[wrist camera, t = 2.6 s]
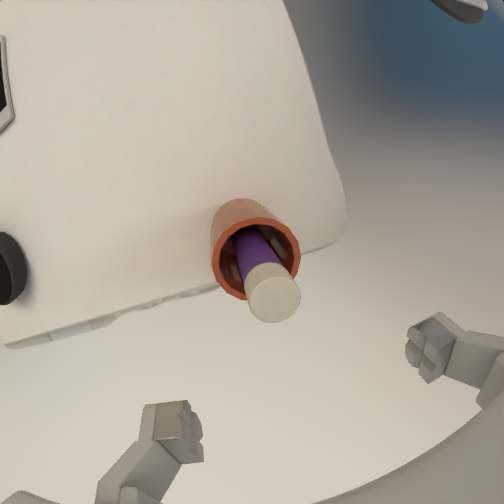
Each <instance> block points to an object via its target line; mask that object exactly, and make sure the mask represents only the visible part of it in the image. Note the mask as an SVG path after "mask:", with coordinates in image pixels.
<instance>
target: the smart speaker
mask: <svg viewBox="0 0 504 504" xmlns="http://www.w3.org/2000/svg"><path fill="white" fill-rule="evenodd" d="M26 278H27V273H26V265H25V261H24V258H23V255H22V253H21V250H20V248H19V247H18V245H17V244H16V242H15V241H14V240H13V239H12V238H11V237H10V236H9V235H7V234H6V233H4V232H0V305H7V304H10V303H11V302H12V301H13V300H14V299H16V298H17V297H18V296H19V295H20V294H21V293H22V291H23V290H24V287H25V284H26Z"/></svg>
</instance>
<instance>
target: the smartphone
mask: <svg viewBox="0 0 504 504" xmlns="http://www.w3.org/2000/svg"><path fill="white" fill-rule="evenodd" d="M13 118H14V112H13V107H12V101H11V96H10V90H9V83H8V75H7V66H6V53H5V37H4V36H3V35H0V132H1V131H2V130H3V129H4V128H5V127H6V126H7V125H8V124H9V123H10V122H11V121H12V120H13Z"/></svg>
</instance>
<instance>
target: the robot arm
mask: <svg viewBox="0 0 504 504" xmlns="http://www.w3.org/2000/svg"><path fill="white" fill-rule="evenodd" d="M456 1H458V2H462V3H465V4H468V5H471V6H474V7H477V8H480V9H483V10H487V9H488V6H487V3H486V0H456ZM503 1H504V0H503ZM407 337H408V338H409V341H408V342H407V344H406V347H405V353H406V357H407V360H408V361H409V363H410V364H411V365H412V366H413V367H416V368H419V375H420V376H421V377H422V378H423V379H424V380H425V381H426V382H427V384H429V383H430V382H432V381H434V380H435V379H437V378H438V377H440V376H442V375H443V374H444V375H445V376H447V377H450V378H452V379H455V380H457V381H460V382H463V383H465V384H468V385H470V386H473V387H476V388H479V389H481V390H480V392H479V394H478V396H477V398H476V402H477V403H478V404H479V406H480V407H481V408H482V410H481V411H480V412H479V413H478V414H477V415H475V416H474V417H473V418H472V419H471V420H469V421H468V422H467V423H466V424H465V425H463V426H462V427H461V428H460V429H458V430H457V431H456V432H454V433H453V434H452V435H450V436H449V437H447V438H446V439H445V440H443V441H442V442H440V443H439V444H437V445H436V446H435V447H433V448H431V449H430V450H428V451H427V452H425V453H423V454H422V455H420V456H419V457H417V458H415V459H414V460H412V461H410V462H408V463H407V464H405V465H403V466H401V467H400V468H398V469H396V470H394V471H392V472H390V473H388V474H386V475H384V476H382V477H380V478H378V479H376V480H374V481H372V482H369V483H367V484H365V485H363V486H360V487H358V488H355V489H353V490H350V491H348V492H345V493H343V494H340V495H337V496H334V497H332V498H329V499H326V500H323V501H319V502H316V503H313V504H504V337H501V336H496V335H490V334H485V333H480V332H474V331H467V332H466V331H465V330H463V329H462V328H461V327H459V326H458V325H457V324H456V323H455V322H453V321H452V320H451V319H449V318H448V317H447V316H446V315H444V314H443V313H441V312H438V313H436V314H434V315H433V316H431V317H430V318H427V319H425V320H423V321H421V322H420V323H418V324H416V325H414V326H412V327H410V329H409V330H408V334H407ZM202 437H203V433H202V427H201V422H200V420H199V418H198V416H197V414H196V413H194V412H192V411H191V406H190V404H189V402H188V401H187V400H182V401H175V402H166V403H158V404H148V405H145V407H144V408H143V413H142V419H141V426H140V432H139V439H138V441H136V442H134V443H133V444H132V445H131V446H130V447H129V449H128V450H127V451H126V452H125V453H124V454H123V455H122V456H121V458H120V459H119V460H118V461H117V462H116V463H115V464H114V465H113V466H112V468H111V469H110V470H109V471H108V472H107V473H106V474H105V475H104V476H103V477H102V478H101V480H100V481H99V482H98V486H97V492H96V499H95V504H162V503H161V502H160V501H161V500H162V498H163V496H164V495H165V493H166V491H167V490H168V488H169V486H170V485H171V483H172V481H173V480H174V478H175V476H176V474H177V473H178V471H179V469H180V467H181V464H190V463H198V462H204V453H203V446H202V444H201V443H200V442H199V441H200V439H201V438H202ZM1 504H59V503H56V502H53V501H50V500H47V499H44V498H41V497H39V496H36V495H33V494H31V493H29V492H26V491H17V492H15V493H14V494H12V495H11V496H10V497H8V498H7V499H6V500H5V501H3V502H2V503H1Z"/></svg>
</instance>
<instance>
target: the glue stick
mask: <svg viewBox="0 0 504 504" xmlns="http://www.w3.org/2000/svg"><path fill="white" fill-rule="evenodd" d="M231 239H232V243H233V246H234V250H235V254H236V257H237V261H238V265H239V268H240V272H241V275H242V279H243V283H244V289H245V293H246V297H247V300H248V304H249V307H250V310H251V312H252V314H253V315H254V316H255V317H256V318H257V319H259V320H261V321H263V322H268V323H276V322H281V321H283V320H285V319H287V318H289V317H290V316H291V315H292V314H293V313H294V312H295V311H296V310H297V308H298V306H299V304H300V299H301V294H300V290H299V287H298V286H297V284H296V283H295V281H294V280H293V278H292V277H291V275H290V274H289V272H288V271H287V270H286V269H285V268H284V267H283V265H282V264H281V262H280V261H279V259H278V258H277V256H276V255H275V253H274V252H273V250H272V249H271V247H270V246H269V244H268V243H267V241H266V240H265V239H264V237H263V236H262V234H261V233H260V231H259V230H258V228H257V227H256V225H255V224H254V225H250V226H246V227H242V228H240V229H239V230H237V231H236V232H235V233H233V234H232V235H231Z"/></svg>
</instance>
